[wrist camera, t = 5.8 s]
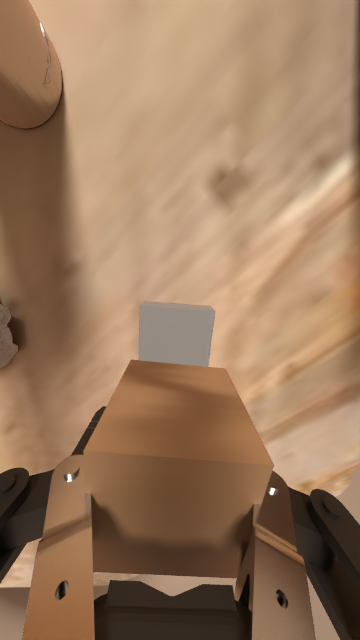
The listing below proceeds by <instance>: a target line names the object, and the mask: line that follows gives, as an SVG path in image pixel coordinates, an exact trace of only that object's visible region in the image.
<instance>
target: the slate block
mask: <svg viewBox="0 0 360 640" xmlns="http://www.w3.org/2000/svg"><path fill="white" fill-rule="evenodd" d="M214 317H215V310H214V309H213V308H212V307H211V306H202V305H189V304H175V303H162V302H149V301H144V302H143V303H142V304H141V305H140V320H139V360H141V361H151V362H161V363H172V364H182V365H192V366H202V367H208V363H209V356H210V348H211V340H212V333H213V325H214Z"/></svg>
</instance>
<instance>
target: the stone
mask: <svg viewBox="0 0 360 640" xmlns="http://www.w3.org/2000/svg"><path fill="white" fill-rule="evenodd" d="M10 318H11V313H10V311H9V309H8V308H7V307H5V306H3V305H2V304H0V368H1V367H4V366H6V365H7V364H8V363H10V362H11V361H12V360H13V359H12V357H13V356H14V355H15V354H16V353H18V346H17V345H15V344H13V343H12V335H11V332H10V329H9V328H8V327H7V324H8V322H9V321H10Z"/></svg>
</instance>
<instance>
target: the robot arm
mask: <svg viewBox="0 0 360 640" xmlns="http://www.w3.org/2000/svg"><path fill="white" fill-rule="evenodd" d="M61 89H62V76H61V67H60V63H59V60H58V56H57V53H56V51H55V49H54V47H53V45H52V42H51V40H50V39H49V37H48V35H47V33H46V31H45V29H44V28H43V26H42V24H41V22H40V20H39V18H38V17H37V15H36V13H35V11H34V9H33V7H32V6H31V4H30V2H29V0H0V120H1V121H3V122H4V123H6V124H8V125H11V126H13V127H18V128H33V127H36V126H39V125H41V124H43V123H44V122H45V121H47V120H48V119H49V118H50V117H51V115H52V114H53V113H54V112H55V109H56V107H57V105H58V103H59V99H60V95H61ZM105 409H106V407H105V406H103V407H102V408H101V409H99V410H98V411H97V412H96V413H95V415H94V417H93V418H92V420H91V422H90V424H89V425H88V428H87V429H86V431H85V432H84V434H83V436H82V438H81V439H80V441H79V443H78V444H77V446H76V448H75V450H74V451H73V453H72V455H71V456H70V457H68V458H66V459H65V460H63V461H62V462H61V463H60V464H59V465H58V466H57V467H56V468H55V469H53V470H51V471H47V472H44V473H39V474H35V475H31V476H29V473H28V471H27V470H26V469H24V468H13V469H10V470H7V471H5V472H3V473H1V474H0V583H1V581H2V580H3V578H4V577H5V575H6V574H7V572H8V571H9V569H10V568H11V566H12V565H13V563H14V562H15V560H16V559H17V557H18V556H19V554H20V553H21V551H22V550H23V548H24V547H25V545H26V544H27V543H28V542H31V541H34V540H36V539H39V538H42V539H41V540H40V541H39V544H38V548H37V552H36V557H35V563H34V569H33V575H32V581H31V587H30V593H29V599H28V605H27V612H26V618H25V623H24V629H23V635H22V640H316V638H315V631H314V624H313V617H312V610H311V603H310V596H309V589H308V582H307V575H308V577H309V579H310V581H311V583H312V585H313V587H314V589H315V591H316V593H317V595H318V597H319V598H320V601H321V603H322V605H323V607H324V608H325V610H326V612H327V614H328V616H329V618H330V620H331V622H332V624H333V626H334V628H335V630H336V632H337V634H338V636H339V638H340V640H360V525H359V524H358V522H357V521H356V520H355V519H354V517H353V516H352V515H351V514H350V513H349V511H348V510H347V509H346V508H345V507H344V506H343V504H342V503H341V502H340V501H339V500H338V499H336V498H335V497H334V496H333V495H331V494H330V493H328V492H326V491H324V490H320V489H315V490H313V491H312V492H311V494H310V496H309V495H306V494H304V493H301V492H299V491H297V490H294V489H292V488H290V487H288V486H287V484H286V483H285V481H284V480H283V479H282V478H281V477H280V476H279V475H278V474H277V473H276V472H274V471H272V473H271V476H270V479H269V482H268V485H267V488H266V492H265V495H264V498H263V501H262V504H254V505H253V509H252V512H251V524H250V537H249V541H242V545H241V548H240V556H239V567H238V575H237V581H236V586H235V592H234V593H233V587H232V585H210V584H202V585H200V586H198V587H195V588H193V589H190V590H188V591H186V592H184V593H181V594H179V595H176V596H168V595H166V594H164V593H163V592H160V591H159V590H157V589H155V588H153V587H151V586H149V585H146V584H145V583H143V582H141V581H140V582H139V581H118V580H110V583H109V588H108V593H107V594H105V595H102V596H100V597H98V598H97V599H95V600H94V593H93V553H92V517H91V493H84V452H83V451H84V449H85V447H86V445H87V443H88V441H89V439H90V437H91V436H92V434H93V432H94V430H95V428H96V426H97V424H98V422H99V420H100V418H101V416H102V415H103V413H104V411H105ZM306 573H307V575H306Z"/></svg>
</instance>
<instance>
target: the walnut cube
mask: <svg viewBox="0 0 360 640" xmlns="http://www.w3.org/2000/svg"><path fill="white" fill-rule="evenodd" d="M83 452H84V493H91V517H92V553H93V572H109V573H131V574H153V575H175V576H197V577H220V578H237V575H238V567H239V556H240V548H241V545H242V541H249V537H250V524H251V512H252V509H253V505H254V504H262V501H263V498H264V495H265V492H266V488H267V485H268V482H269V479H270V476H271V473H272V470H273V467H274V464H273V462H272V460H271V458H270V456H269V454H268V452H267V450H266V448H265V446H264V444H263V442H262V440H261V438H260V436H259V434H258V432H257V430H256V428H255V426H254V424H253V422H252V420H251V418H250V416H249V414H248V412H247V410H246V408H245V406H244V404H243V402H242V400H241V398H240V396H239V394H238V392H237V390H236V388H235V386H234V384H233V382H232V380H231V378H230V376H229V374H228V372H227V370H226V369H223V368H213V367H202V366H192V365H182V364H172V363H161V362H151V361H141V360H131V361H130V363H129V365H128V367H127V369H126V370H125V372H124V374H123V376H122V378H121V380H120V382H119V384H118V386H117V388H116V390H115V392H114V393H113V395H112V397H111V399H110V401H109V403H108V405H107V407H106V409H105V411H104V413H103V415H102V416H101V418H100V420H99V422H98V424H97V426H96V428H95V430H94V432H93V434H92V436H91V437H90V439H89V441H88V443H87V445H86V447H85V449H84V451H83Z"/></svg>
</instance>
